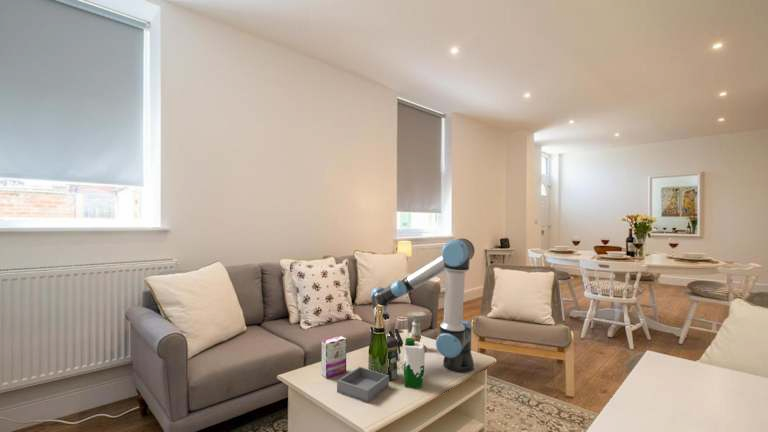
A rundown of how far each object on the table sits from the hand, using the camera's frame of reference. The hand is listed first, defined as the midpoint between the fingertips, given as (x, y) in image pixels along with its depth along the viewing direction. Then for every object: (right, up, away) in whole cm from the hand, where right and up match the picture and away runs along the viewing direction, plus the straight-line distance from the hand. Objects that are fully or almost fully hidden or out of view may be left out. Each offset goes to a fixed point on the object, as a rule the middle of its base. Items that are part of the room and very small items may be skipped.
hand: (389, 361), depth 169 cm
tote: (-11, -8, -10) cm, 17 cm away
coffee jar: (-1, -8, +3) cm, 9 cm away
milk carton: (+11, -9, -4) cm, 15 cm away
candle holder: (+15, -8, +38) cm, 42 cm away
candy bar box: (-26, -8, +5) cm, 27 cm away
